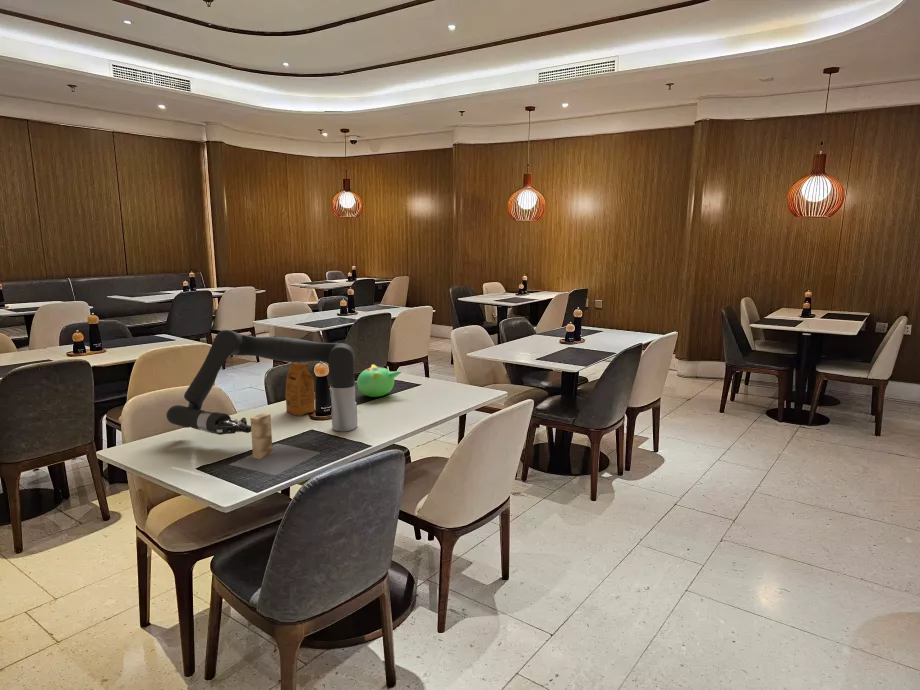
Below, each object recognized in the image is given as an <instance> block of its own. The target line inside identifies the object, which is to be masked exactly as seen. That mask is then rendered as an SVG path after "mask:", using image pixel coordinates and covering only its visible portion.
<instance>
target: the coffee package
mask: <svg viewBox="0 0 920 690" xmlns="http://www.w3.org/2000/svg"><path fill="white" fill-rule="evenodd" d="M308 367H309V364H308V363H298V362H290V365H289V369H288V371H287V375H286V376H287V377H286V379H285V380H286V381H285V402H286V406H285V408H286V412H287V413H290V414H291V415H293V416H299V417H300V416H301V417H302V416H303V415H305V414H309V413H313V412H315V411H316V407H315V404H316V402H315V400H316V396H315V379H314V377H313V376H312V374H311V372H310V371H309V369H308Z"/></svg>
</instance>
